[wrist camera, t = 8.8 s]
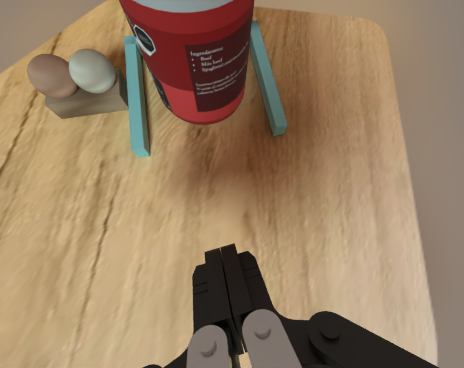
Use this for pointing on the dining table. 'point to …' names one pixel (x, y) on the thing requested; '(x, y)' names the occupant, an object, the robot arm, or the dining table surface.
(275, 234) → the dining table surface
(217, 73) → the canned food
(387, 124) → the dining table surface
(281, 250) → the dining table surface
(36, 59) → the egg holder with eggs
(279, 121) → the teal bay
